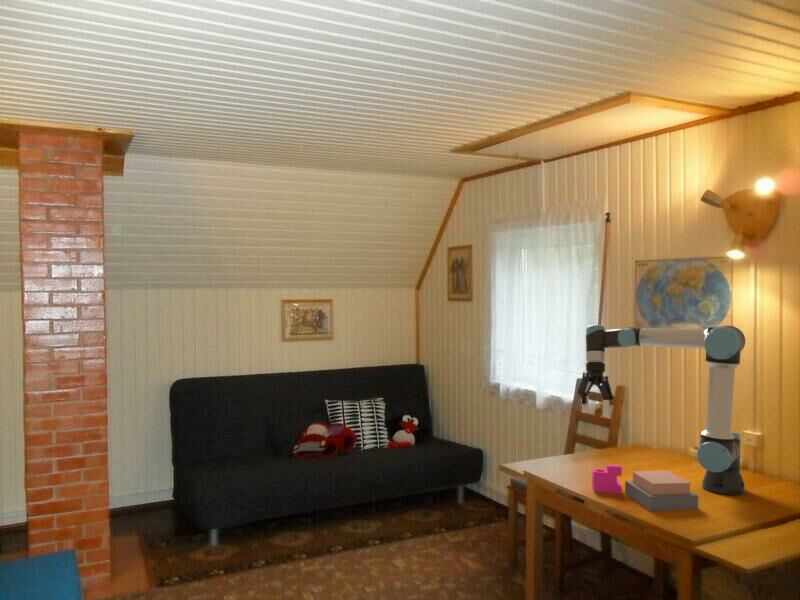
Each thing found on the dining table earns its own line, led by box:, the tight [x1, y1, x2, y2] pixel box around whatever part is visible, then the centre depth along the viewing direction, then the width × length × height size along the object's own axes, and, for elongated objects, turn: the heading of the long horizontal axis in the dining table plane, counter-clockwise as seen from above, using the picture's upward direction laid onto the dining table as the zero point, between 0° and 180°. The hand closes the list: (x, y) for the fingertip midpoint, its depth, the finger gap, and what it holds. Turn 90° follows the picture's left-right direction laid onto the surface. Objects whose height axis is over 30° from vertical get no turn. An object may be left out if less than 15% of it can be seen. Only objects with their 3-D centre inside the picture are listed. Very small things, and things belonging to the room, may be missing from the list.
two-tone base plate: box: [624, 470, 699, 512], centre depth 246 cm, size 18×20×9 cm
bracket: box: [591, 464, 623, 494], centre depth 263 cm, size 12×10×10 cm
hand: (595, 414), depth 270 cm, fingers open, 13 cm apart
